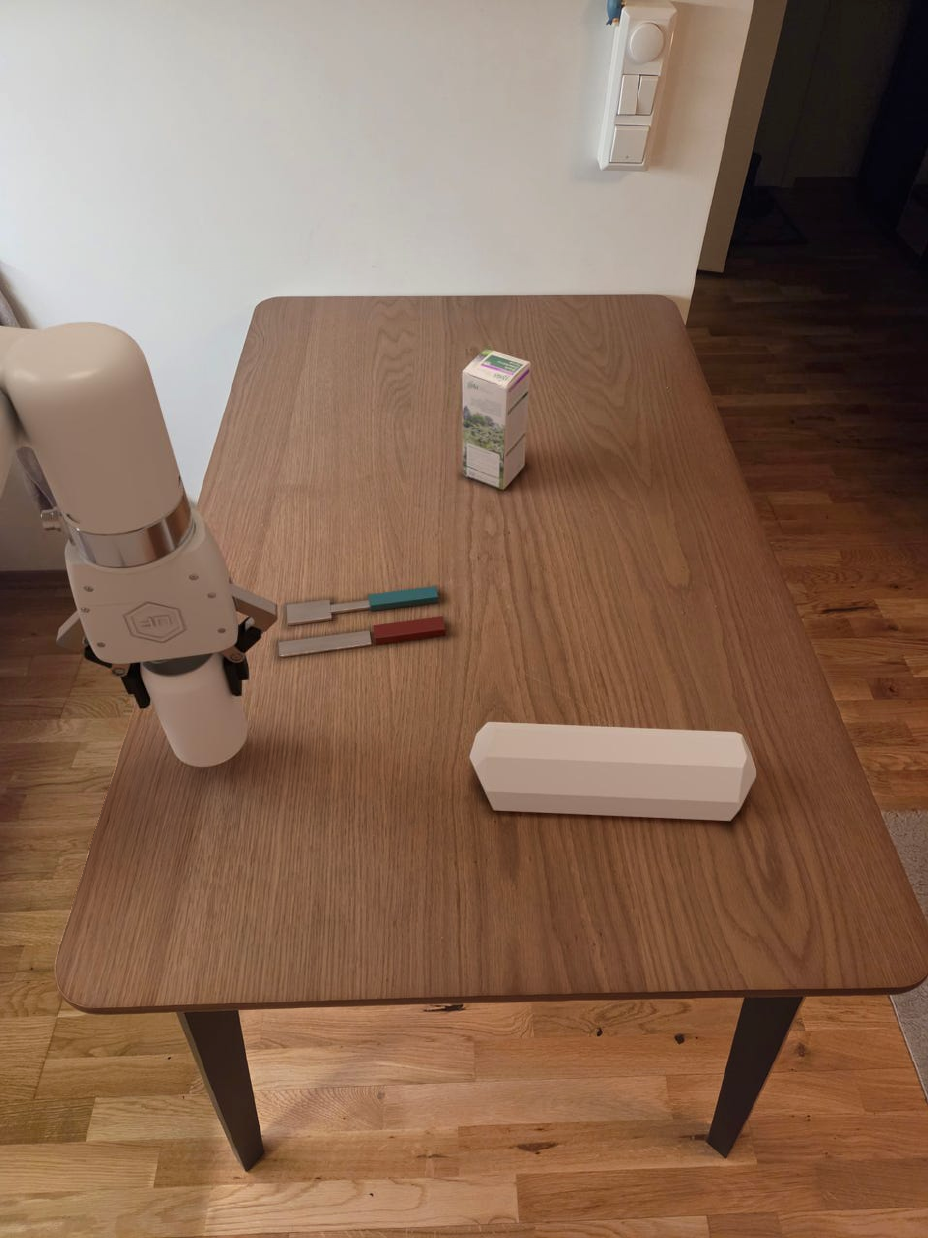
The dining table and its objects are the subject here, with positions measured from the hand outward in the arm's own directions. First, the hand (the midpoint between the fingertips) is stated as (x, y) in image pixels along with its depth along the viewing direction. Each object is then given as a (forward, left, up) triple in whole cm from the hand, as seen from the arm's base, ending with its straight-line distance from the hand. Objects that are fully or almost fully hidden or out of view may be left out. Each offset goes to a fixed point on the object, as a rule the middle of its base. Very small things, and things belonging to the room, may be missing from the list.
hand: (192, 687), depth 69 cm
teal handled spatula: (+14, +16, -10) cm, 23 cm away
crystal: (+33, -9, -10) cm, 36 cm away
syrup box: (+32, +35, -10) cm, 49 cm away
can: (0, 0, -7) cm, 7 cm away
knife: (+14, +11, -10) cm, 21 cm away
